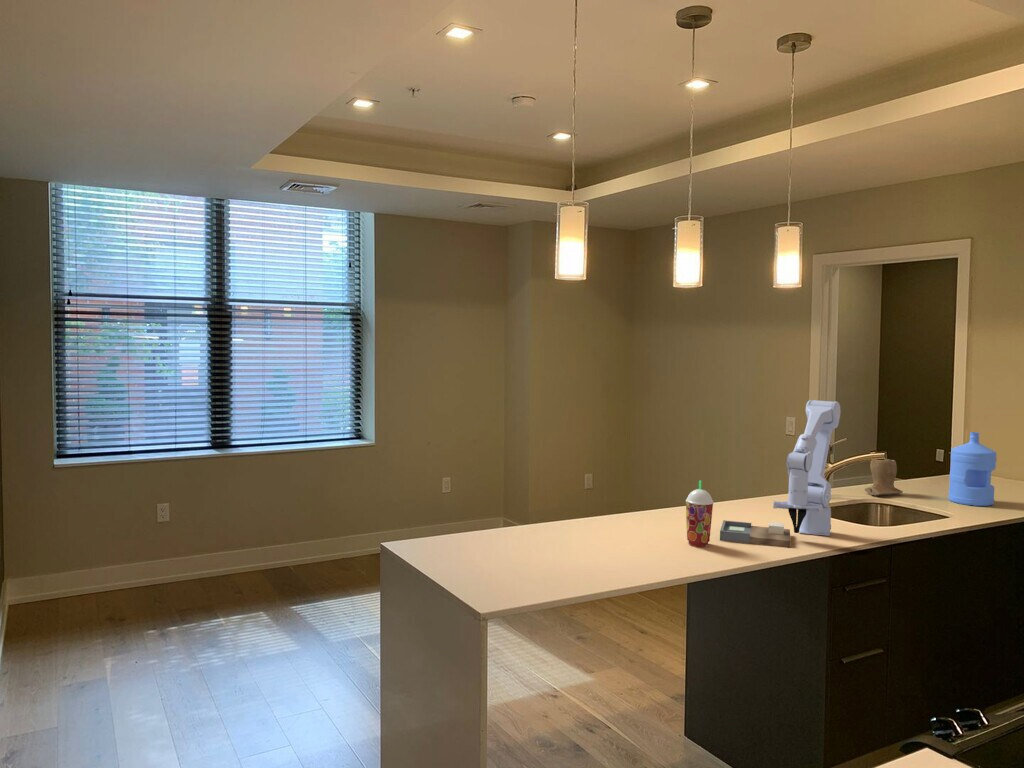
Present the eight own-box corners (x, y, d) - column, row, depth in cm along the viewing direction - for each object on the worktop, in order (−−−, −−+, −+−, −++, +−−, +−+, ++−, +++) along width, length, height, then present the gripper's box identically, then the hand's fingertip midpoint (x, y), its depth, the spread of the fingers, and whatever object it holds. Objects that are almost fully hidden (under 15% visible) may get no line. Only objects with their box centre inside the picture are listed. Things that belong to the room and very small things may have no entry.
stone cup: (883, 490, 329) (885, 455, 328) (907, 496, 318) (908, 460, 317) (856, 492, 324) (857, 457, 323) (878, 498, 313) (880, 461, 312)
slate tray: (751, 531, 256) (751, 522, 256) (749, 543, 242) (749, 533, 242) (723, 529, 259) (723, 520, 259) (719, 540, 245) (720, 530, 244)
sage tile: (744, 533, 248) (744, 527, 248) (743, 536, 244) (743, 531, 244) (729, 531, 250) (729, 526, 249) (728, 535, 245) (729, 529, 245)
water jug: (939, 499, 311) (943, 430, 310) (965, 497, 318) (968, 429, 316) (976, 508, 297) (980, 435, 295) (1002, 504, 304) (1007, 434, 302)
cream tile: (783, 531, 249) (783, 523, 249) (783, 534, 245) (783, 526, 245) (768, 529, 251) (769, 522, 251) (768, 533, 247) (768, 525, 246)
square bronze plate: (789, 535, 252) (789, 529, 252) (790, 547, 238) (790, 540, 238) (751, 531, 256) (751, 525, 256) (749, 543, 242) (749, 536, 242)
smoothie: (707, 540, 244) (709, 478, 242) (715, 548, 236) (717, 483, 234) (681, 540, 244) (683, 477, 242) (688, 548, 235) (690, 483, 234)
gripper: (774, 490, 244) (772, 533, 244) (823, 494, 239) (821, 537, 240) (774, 486, 250) (772, 527, 251) (822, 490, 246) (820, 532, 246)
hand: (796, 532), depth 246 cm, fingers closed
